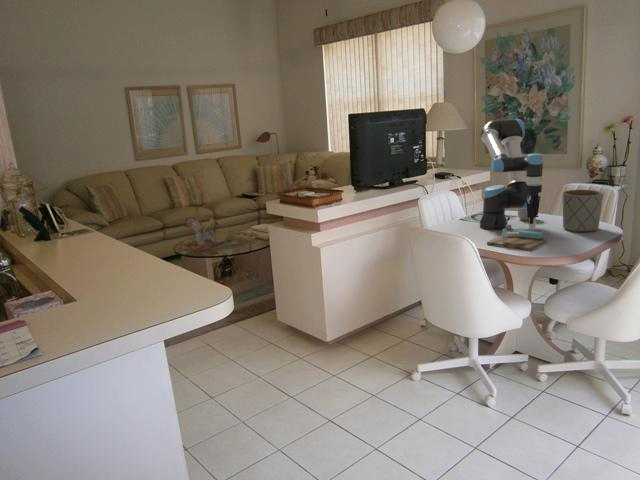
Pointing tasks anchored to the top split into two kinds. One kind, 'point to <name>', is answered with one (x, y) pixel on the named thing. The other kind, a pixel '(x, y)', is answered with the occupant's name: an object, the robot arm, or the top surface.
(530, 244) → the pivot board
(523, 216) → the teacup
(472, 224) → the top surface
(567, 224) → the planter
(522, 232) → the latch bar
